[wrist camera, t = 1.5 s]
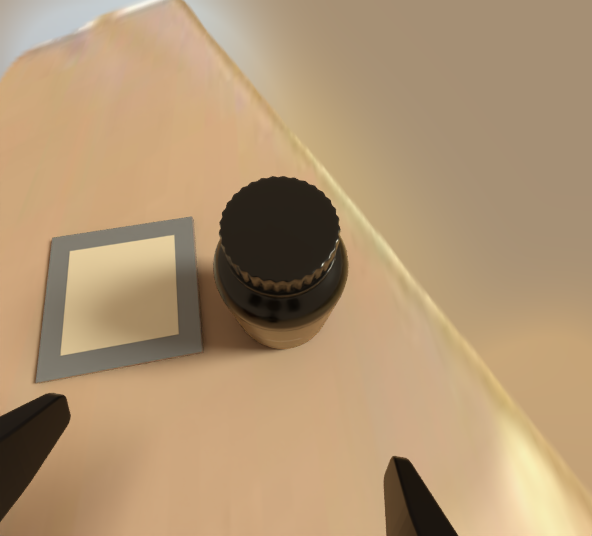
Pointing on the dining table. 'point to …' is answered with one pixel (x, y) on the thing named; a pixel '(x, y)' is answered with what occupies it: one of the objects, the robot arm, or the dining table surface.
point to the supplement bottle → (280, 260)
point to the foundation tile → (120, 299)
